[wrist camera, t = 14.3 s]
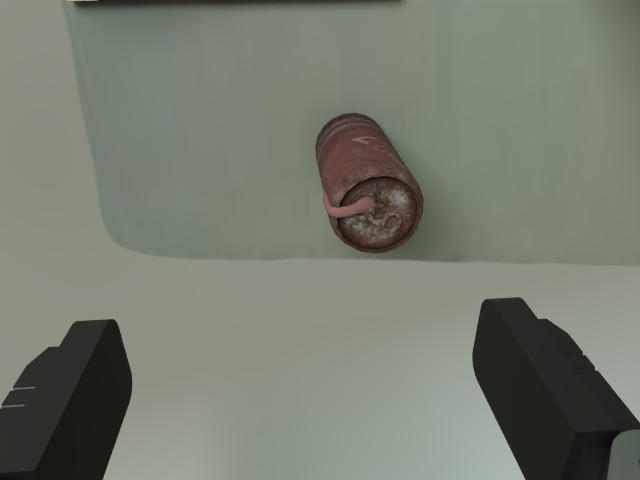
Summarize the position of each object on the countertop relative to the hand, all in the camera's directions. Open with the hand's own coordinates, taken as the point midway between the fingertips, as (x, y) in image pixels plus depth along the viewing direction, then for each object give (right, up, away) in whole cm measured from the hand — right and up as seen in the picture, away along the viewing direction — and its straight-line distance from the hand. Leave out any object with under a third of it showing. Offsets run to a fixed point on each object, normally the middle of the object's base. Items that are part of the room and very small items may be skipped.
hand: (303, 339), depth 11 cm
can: (+3, +10, +31) cm, 33 cm away
